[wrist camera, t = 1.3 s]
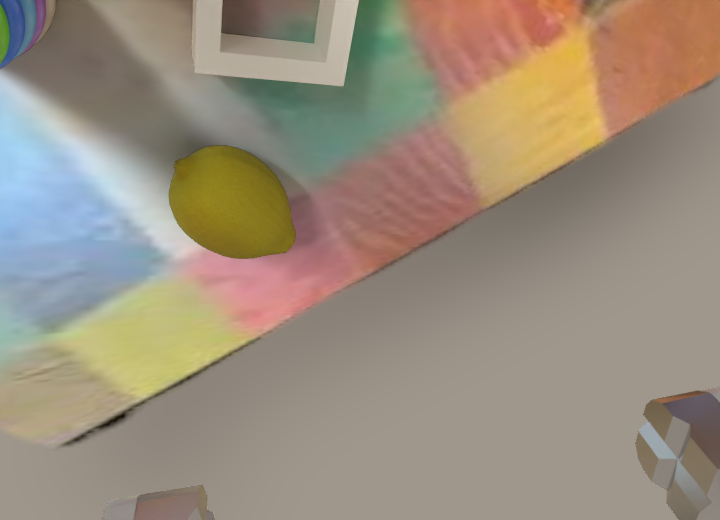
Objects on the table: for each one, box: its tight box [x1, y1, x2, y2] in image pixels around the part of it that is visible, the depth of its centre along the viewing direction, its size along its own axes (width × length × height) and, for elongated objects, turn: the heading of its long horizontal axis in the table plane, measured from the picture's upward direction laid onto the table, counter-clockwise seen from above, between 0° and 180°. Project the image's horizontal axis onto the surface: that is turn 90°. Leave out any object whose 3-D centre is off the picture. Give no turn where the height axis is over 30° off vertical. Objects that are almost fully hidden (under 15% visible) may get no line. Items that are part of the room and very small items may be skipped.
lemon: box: [169, 145, 296, 259], centre depth 44 cm, size 11×8×8 cm
